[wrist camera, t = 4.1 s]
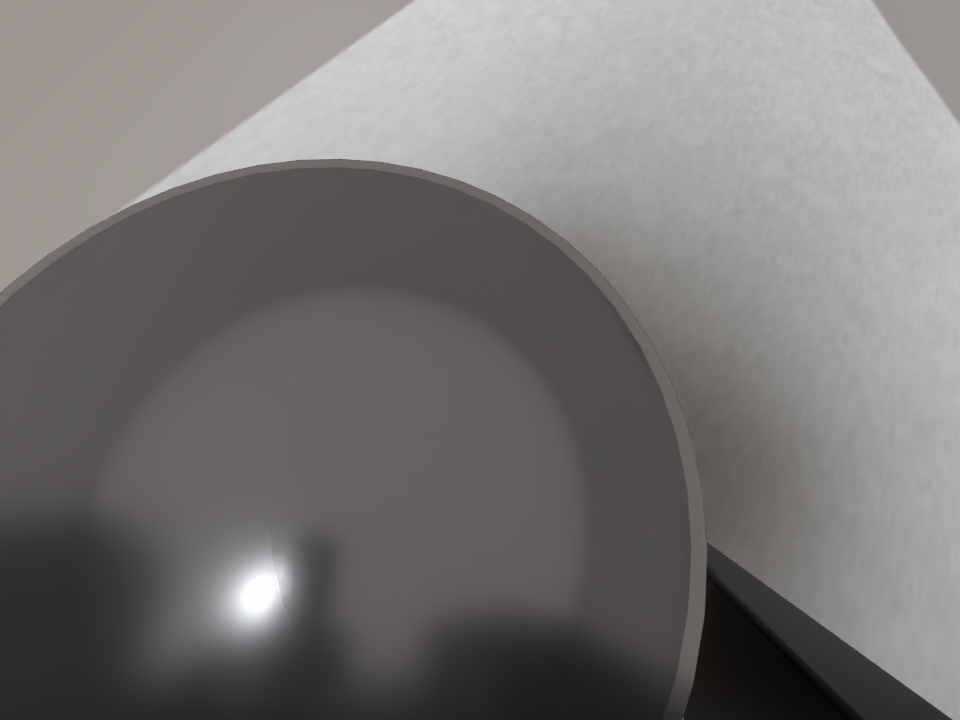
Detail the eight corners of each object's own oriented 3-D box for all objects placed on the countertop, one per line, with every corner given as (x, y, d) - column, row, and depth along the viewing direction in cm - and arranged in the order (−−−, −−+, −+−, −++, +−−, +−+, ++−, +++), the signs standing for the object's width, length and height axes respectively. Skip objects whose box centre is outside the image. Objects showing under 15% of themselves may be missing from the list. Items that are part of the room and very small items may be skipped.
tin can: (446, 691, 14) (201, 1660, 2) (310, 554, 15) (-354, 539, 3) (563, 527, 15) (853, 419, 3) (430, 418, 17) (304, 72, 5)
